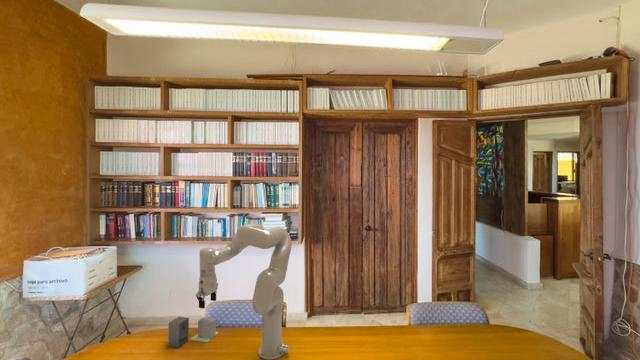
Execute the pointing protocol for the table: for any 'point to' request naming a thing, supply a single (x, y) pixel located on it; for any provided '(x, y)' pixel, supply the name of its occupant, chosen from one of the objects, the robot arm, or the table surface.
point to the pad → (202, 338)
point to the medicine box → (206, 327)
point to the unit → (178, 332)
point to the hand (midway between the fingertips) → (207, 304)
